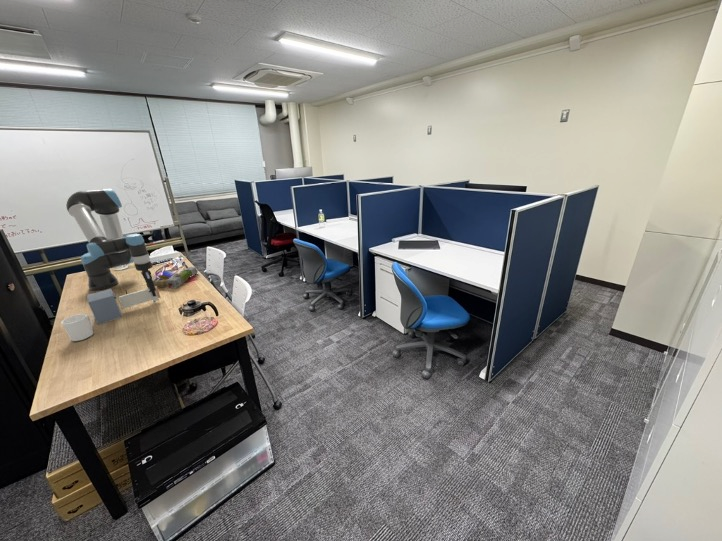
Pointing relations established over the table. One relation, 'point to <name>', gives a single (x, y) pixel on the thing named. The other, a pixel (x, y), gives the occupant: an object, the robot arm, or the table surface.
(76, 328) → the mug
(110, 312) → the block
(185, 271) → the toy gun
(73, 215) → the robot arm
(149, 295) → the slim white post
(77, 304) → the table surface
